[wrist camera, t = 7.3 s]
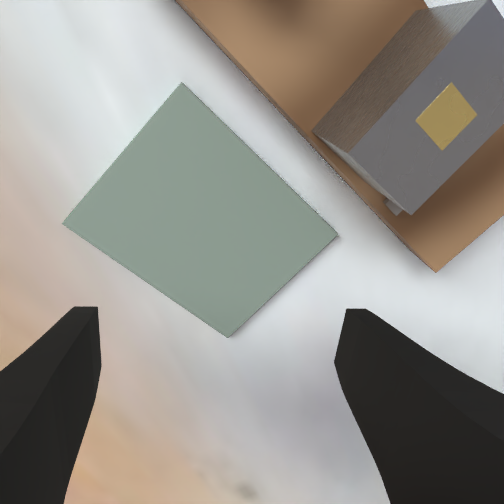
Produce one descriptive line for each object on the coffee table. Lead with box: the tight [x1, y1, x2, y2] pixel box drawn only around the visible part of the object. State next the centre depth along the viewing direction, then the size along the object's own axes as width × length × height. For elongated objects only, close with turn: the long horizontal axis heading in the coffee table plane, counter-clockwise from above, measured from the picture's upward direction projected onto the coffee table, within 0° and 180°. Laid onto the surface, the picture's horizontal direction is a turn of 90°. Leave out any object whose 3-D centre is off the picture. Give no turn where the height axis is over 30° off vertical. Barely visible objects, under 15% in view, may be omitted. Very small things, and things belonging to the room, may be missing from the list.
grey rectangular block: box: [311, 0, 504, 215], centre depth 14 cm, size 3×5×4 cm, turn 139°
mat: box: [62, 82, 338, 338], centre depth 20 cm, size 10×8×1 cm
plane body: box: [175, 0, 504, 273], centre depth 15 cm, size 18×6×6 cm, turn 45°
